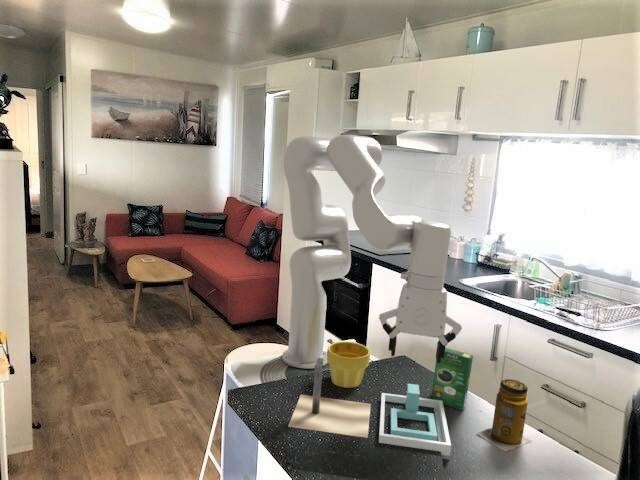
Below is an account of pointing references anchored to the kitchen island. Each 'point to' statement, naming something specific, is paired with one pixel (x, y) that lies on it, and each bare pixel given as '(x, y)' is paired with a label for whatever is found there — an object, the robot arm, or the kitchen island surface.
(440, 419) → the white rectangular frame
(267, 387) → the kitchen island surface
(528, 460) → the kitchen island surface
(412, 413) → the teal frame with handle
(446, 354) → the coffee box
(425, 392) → the kitchen island surface
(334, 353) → the plant pot
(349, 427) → the board
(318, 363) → the stake
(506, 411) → the condiment
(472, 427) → the kitchen island surface
